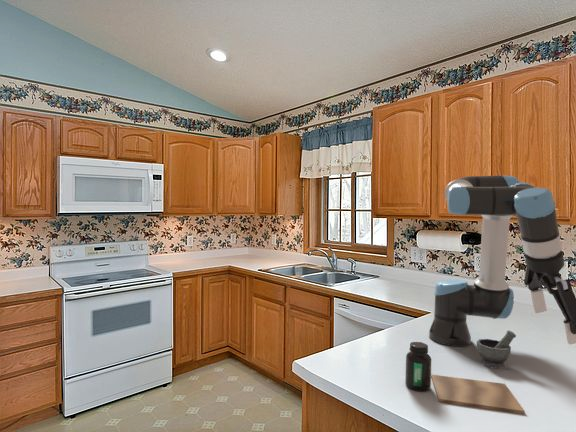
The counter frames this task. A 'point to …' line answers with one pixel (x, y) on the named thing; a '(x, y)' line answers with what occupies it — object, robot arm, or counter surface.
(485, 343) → the mortar and pestle
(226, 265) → the counter surface
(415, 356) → the supplement bottle
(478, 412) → the counter surface
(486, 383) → the cutting board
